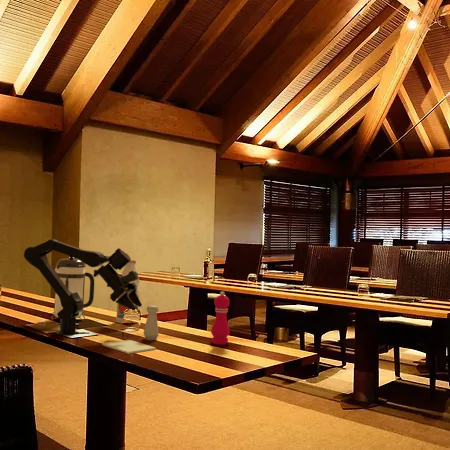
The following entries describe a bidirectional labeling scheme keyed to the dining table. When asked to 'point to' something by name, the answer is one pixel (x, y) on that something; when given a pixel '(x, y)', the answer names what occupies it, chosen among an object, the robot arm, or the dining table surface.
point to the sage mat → (128, 346)
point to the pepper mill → (220, 320)
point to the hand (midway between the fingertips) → (138, 307)
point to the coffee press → (73, 281)
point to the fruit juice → (126, 270)
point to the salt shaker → (151, 324)
